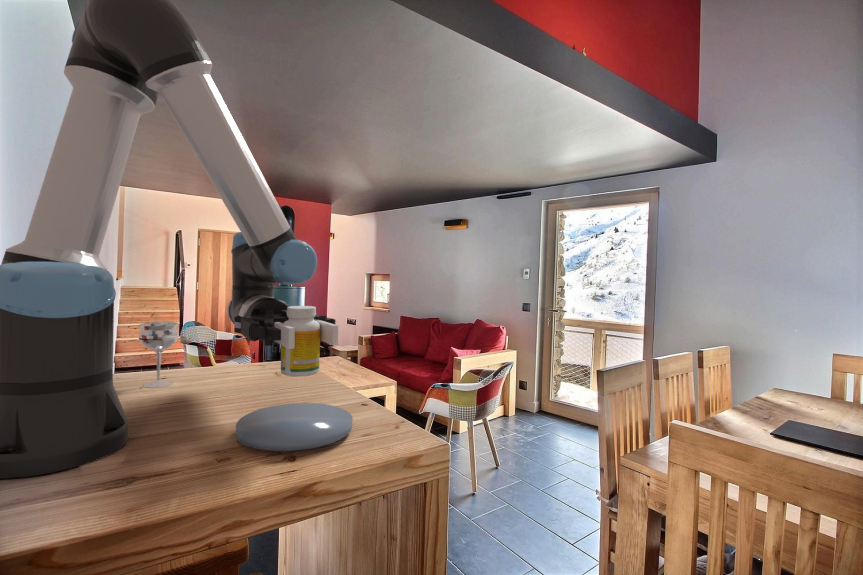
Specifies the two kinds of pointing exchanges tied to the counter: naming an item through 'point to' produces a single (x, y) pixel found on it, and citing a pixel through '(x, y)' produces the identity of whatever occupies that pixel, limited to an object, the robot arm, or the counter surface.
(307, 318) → the supplement bottle
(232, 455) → the counter surface
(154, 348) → the wineglass
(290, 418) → the slate dish
